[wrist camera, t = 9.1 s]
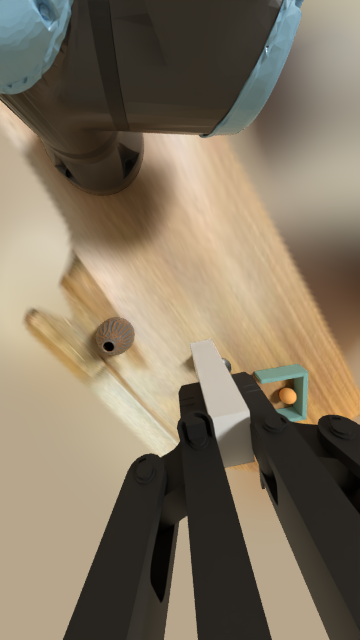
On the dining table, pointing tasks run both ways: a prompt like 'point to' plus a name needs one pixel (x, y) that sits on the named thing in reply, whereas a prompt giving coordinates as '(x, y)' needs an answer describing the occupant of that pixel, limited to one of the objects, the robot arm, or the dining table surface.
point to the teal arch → (300, 388)
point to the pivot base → (227, 364)
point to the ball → (287, 395)
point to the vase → (115, 336)
